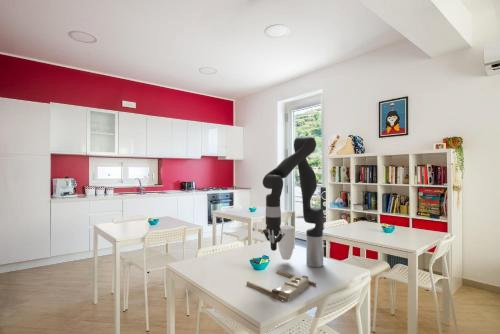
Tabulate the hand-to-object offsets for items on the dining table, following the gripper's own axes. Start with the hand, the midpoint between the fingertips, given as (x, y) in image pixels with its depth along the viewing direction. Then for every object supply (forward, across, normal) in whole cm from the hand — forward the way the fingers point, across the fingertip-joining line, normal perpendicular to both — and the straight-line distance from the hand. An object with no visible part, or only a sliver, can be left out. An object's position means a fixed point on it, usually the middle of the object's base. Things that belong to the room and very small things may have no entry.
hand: (273, 250), depth 139 cm
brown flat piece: (+16, -5, 0) cm, 17 cm away
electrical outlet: (+16, -12, +1) cm, 21 cm away
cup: (+17, +13, -26) cm, 33 cm away
